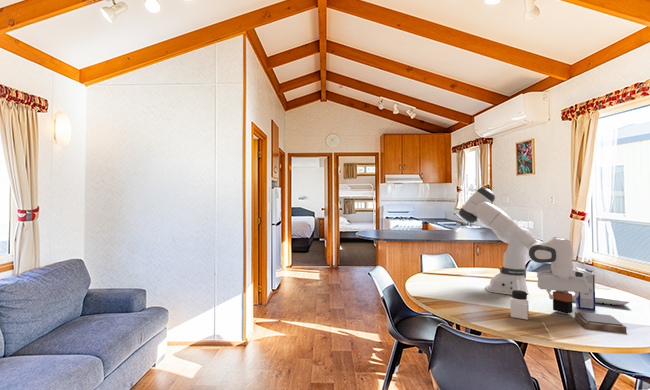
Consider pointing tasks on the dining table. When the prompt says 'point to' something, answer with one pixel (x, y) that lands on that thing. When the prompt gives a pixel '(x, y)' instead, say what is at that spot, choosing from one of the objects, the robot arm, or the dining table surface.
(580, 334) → the dining table surface
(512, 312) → the medicine bottle
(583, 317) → the wooden square tray
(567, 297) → the battery
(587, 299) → the milk carton
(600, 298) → the square plate
